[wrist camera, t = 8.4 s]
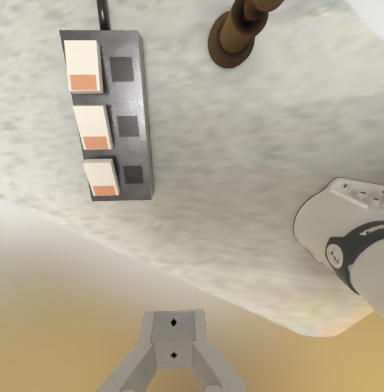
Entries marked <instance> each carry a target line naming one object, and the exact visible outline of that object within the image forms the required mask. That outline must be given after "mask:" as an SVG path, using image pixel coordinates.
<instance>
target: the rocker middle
mask: <svg viewBox="0 0 384 392" xmlns="http://www.w3.org/2000/svg"><path fill="white" fill-rule="evenodd" d="M73 110H74V114H75V117H76V121H77V125H78V129H79V133H80V137H81V141H82V145H83V149H84V150H91V149H112V148H113V142H112V137H111V131H110V126H109V120H108V115H107V110H106V105H74V106H73Z"/></svg>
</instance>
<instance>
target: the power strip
mask: <svg viewBox="0 0 384 392" xmlns="http://www.w3.org/2000/svg"><path fill="white" fill-rule="evenodd" d="M96 1H97V8H98V16H99V23H100V30H59V31H60V36H61V41H62V47H63V52H64V57H65V62H66V56H65V46H64V40H96V41H97V42H98V43H99V45H100V55H101V68H102V81H103V93H96V94H73V93H71V94H72V99H73V104H74V105H106V110H107V115H108V120H109V126H110V131H111V137H112V142H113V148H112V149H91V150H84V149H83V145H82V141H81V137H80V141H81V146H82V151H83V157H84V160H85V159H113V163H114V168H115V172H116V176H117V180H118V184H119V188H120V193H119V195H112V196H94V195H93V193H92V190H91V187H90V184H89V188H90V193H91V198H92V201H118V200H151V199H152V196H153V193H154V183H153V171H152V158H151V145H150V132H149V119H148V106H147V94H146V81H145V68H144V55H143V42H142V38H141V36H140V35H139V33H138V31H118V30H109V23H108V15H107V7H106V0H96ZM66 68H67V66H66ZM78 130H79V129H78ZM79 136H80V133H79ZM88 183H89V181H88Z"/></svg>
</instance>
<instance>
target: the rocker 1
mask: <svg viewBox="0 0 384 392" xmlns="http://www.w3.org/2000/svg"><path fill="white" fill-rule="evenodd" d="M64 46H65V56H66V66H67V77H68V87H69V91H70V92H71V93H73V94H96V93H103V81H102V68H101V55H100V45H99V43H98V42H97V41H96V40H64Z"/></svg>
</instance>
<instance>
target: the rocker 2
mask: <svg viewBox="0 0 384 392" xmlns="http://www.w3.org/2000/svg"><path fill="white" fill-rule="evenodd" d="M82 164H83V166H84V169H85V172H86V175H87V178H88V181H89V184H90V187H91V190H92V193H93V195H94V196H112V195H119V193H120V188H119V184H118V180H117V176H116V172H115V168H114V163H113V159H85V160H84V162H83V163H82Z"/></svg>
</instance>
